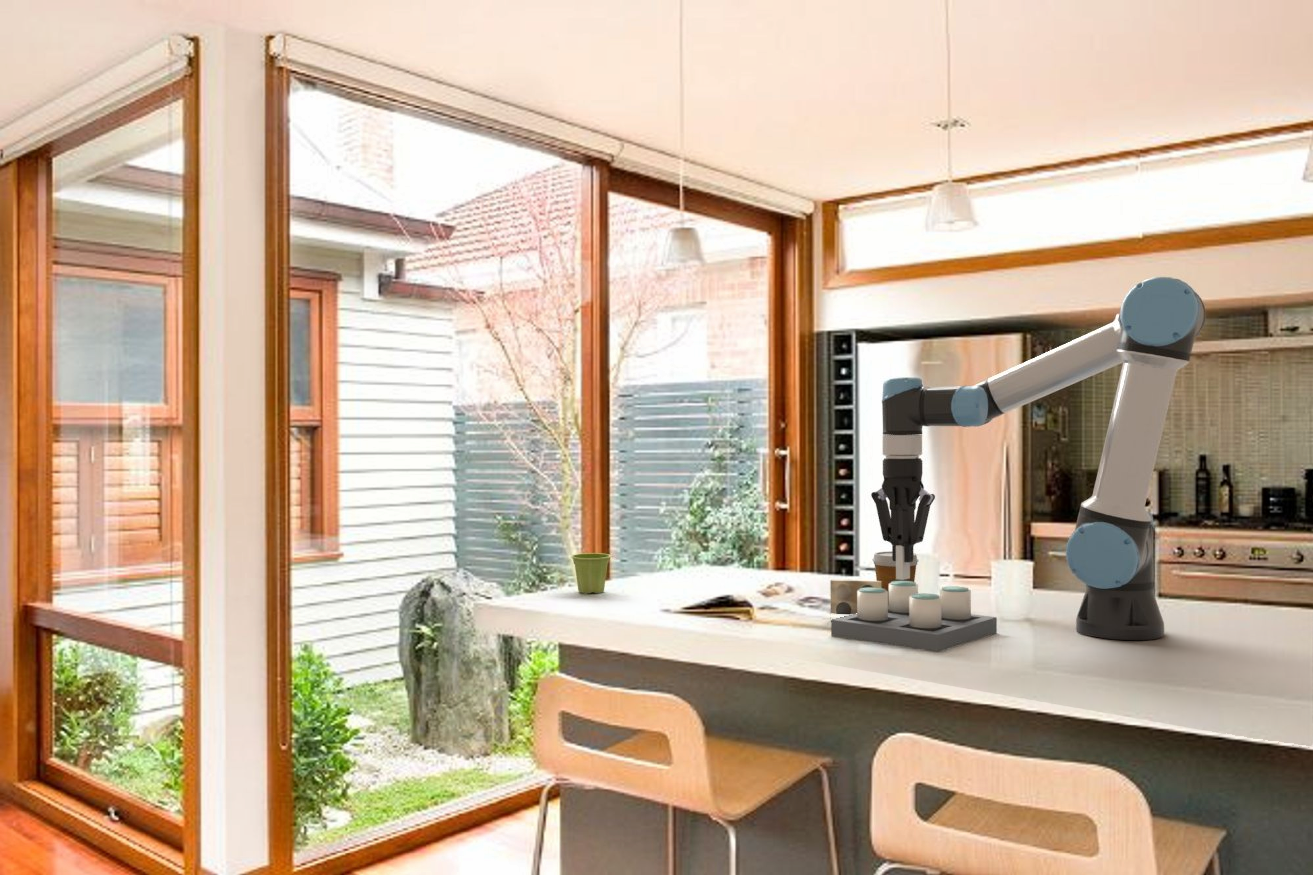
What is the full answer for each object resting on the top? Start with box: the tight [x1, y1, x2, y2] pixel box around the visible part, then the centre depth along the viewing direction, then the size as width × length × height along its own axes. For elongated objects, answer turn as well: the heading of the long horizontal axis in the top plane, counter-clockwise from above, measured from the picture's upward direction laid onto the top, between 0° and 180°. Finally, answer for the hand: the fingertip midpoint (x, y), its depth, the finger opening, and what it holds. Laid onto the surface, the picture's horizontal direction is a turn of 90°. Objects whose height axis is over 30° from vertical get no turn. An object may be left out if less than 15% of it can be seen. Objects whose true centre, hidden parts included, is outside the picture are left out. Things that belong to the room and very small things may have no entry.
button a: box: [939, 585, 972, 620], centre depth 202 cm, size 6×6×5 cm
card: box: [829, 579, 881, 614], centre depth 217 cm, size 10×1×8 cm, turn 76°
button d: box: [857, 587, 888, 621], centre depth 202 cm, size 6×6×5 cm
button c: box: [909, 592, 942, 628], centre depth 194 cm, size 6×6×5 cm
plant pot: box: [571, 552, 612, 594], centre depth 257 cm, size 9×9×9 cm
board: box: [830, 606, 998, 653], centre depth 202 cm, size 22×22×3 cm
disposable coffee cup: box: [871, 551, 919, 606], centre depth 228 cm, size 10×10×12 cm
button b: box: [889, 581, 919, 613], centre depth 210 cm, size 6×6×5 cm
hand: (902, 578), depth 210 cm, fingers closed
